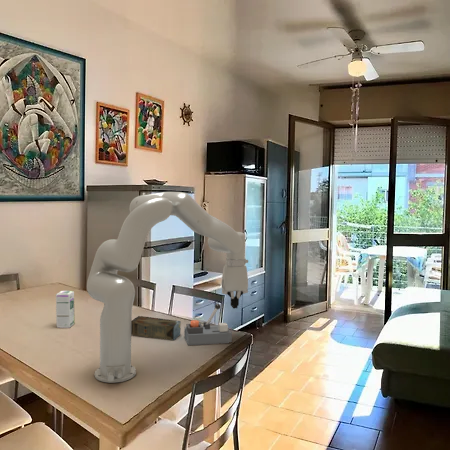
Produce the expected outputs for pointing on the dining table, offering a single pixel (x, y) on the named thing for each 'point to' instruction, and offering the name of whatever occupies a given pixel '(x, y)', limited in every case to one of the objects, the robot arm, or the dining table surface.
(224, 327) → the slider
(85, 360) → the dining table surface
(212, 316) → the lever
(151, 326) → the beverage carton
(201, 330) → the panel
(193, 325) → the button
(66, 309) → the syrup box
